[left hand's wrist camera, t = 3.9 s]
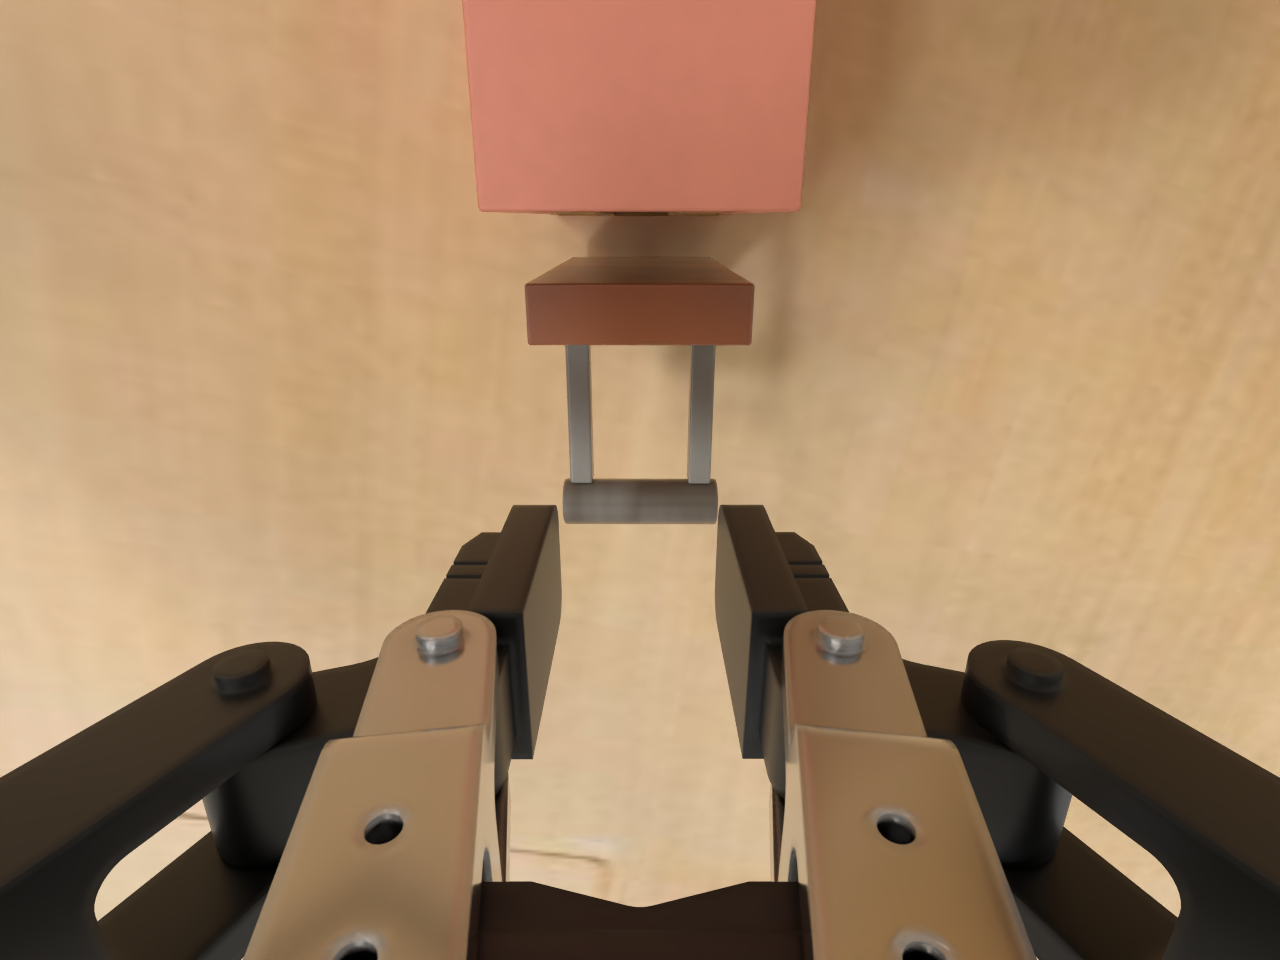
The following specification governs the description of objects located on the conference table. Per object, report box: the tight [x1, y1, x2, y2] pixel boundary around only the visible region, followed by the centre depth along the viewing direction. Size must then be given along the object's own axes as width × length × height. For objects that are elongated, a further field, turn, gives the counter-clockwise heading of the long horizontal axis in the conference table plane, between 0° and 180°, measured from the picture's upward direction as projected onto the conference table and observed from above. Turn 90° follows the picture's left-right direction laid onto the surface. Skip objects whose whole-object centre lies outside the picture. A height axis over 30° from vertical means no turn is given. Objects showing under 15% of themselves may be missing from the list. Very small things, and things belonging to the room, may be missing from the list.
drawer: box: [525, 212, 754, 524], centre depth 16 cm, size 22×4×10 cm, turn 0°
